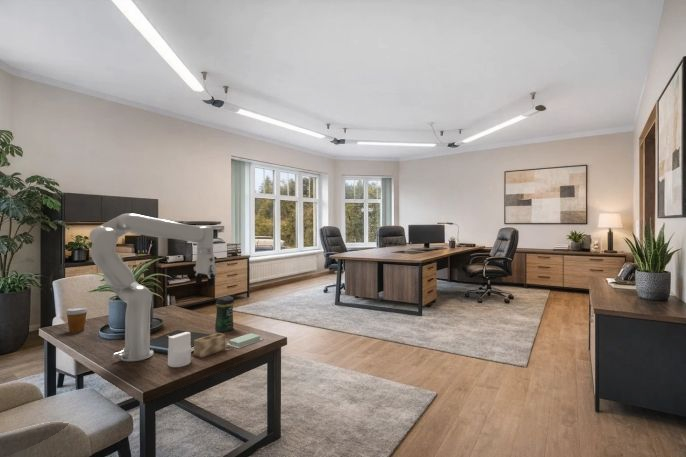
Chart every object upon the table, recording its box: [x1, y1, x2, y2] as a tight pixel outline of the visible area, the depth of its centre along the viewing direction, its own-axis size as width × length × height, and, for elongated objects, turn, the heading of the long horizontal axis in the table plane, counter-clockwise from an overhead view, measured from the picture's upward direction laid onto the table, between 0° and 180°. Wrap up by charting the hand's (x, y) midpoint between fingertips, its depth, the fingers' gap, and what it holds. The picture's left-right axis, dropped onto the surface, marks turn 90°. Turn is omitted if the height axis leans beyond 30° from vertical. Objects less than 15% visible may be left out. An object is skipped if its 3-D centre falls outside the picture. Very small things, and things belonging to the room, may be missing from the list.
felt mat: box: [225, 337, 264, 350], centre depth 179 cm, size 16×9×1 cm, turn 146°
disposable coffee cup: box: [65, 306, 88, 333], centre depth 191 cm, size 10×10×12 cm
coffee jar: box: [214, 295, 235, 333], centre depth 199 cm, size 10×8×19 cm
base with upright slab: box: [167, 331, 192, 368], centre depth 152 cm, size 9×9×12 cm
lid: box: [228, 332, 261, 347], centre depth 179 cm, size 14×7×2 cm, turn 146°
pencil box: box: [193, 332, 226, 358], centre depth 165 cm, size 13×5×7 cm, turn 146°
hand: (204, 285), depth 180 cm, fingers open, 9 cm apart
